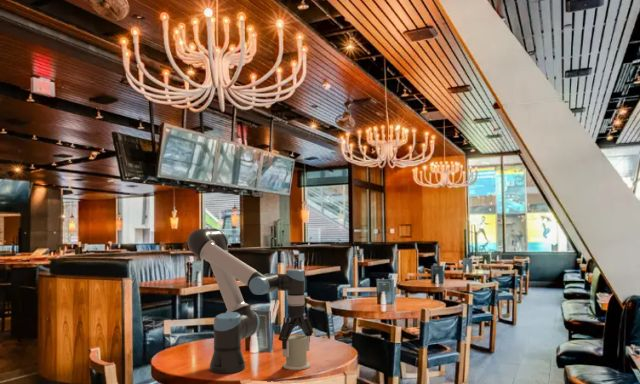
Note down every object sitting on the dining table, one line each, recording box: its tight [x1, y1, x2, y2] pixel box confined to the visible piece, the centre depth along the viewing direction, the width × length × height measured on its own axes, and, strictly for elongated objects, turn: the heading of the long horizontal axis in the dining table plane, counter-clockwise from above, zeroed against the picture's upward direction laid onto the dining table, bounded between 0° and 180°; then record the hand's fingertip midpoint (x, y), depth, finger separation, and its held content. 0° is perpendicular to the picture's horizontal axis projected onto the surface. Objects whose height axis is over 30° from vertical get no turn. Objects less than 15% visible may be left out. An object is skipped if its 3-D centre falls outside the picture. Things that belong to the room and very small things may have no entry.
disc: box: [282, 361, 311, 371], centre depth 226 cm, size 12×12×1 cm
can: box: [285, 334, 308, 367], centre depth 226 cm, size 9×9×12 cm
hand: (296, 353), depth 226 cm, fingers open, 13 cm apart
